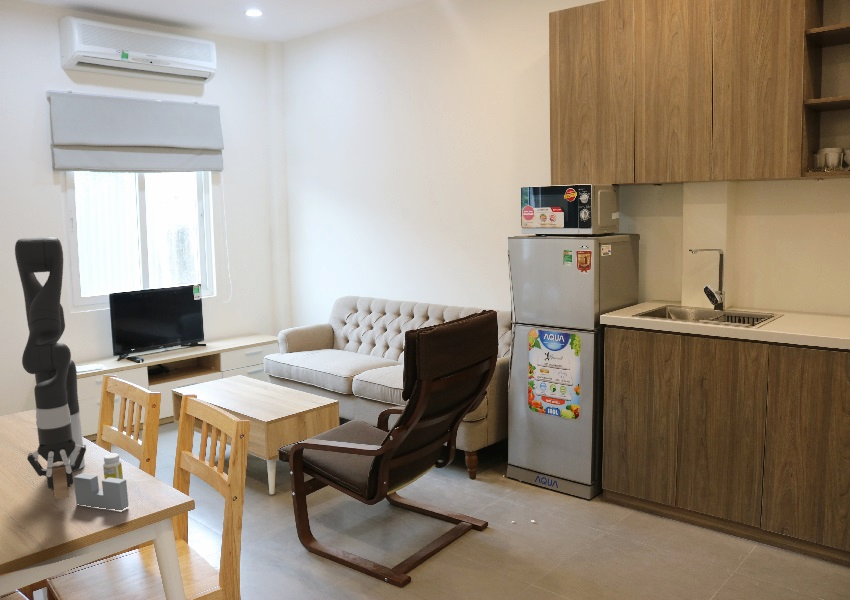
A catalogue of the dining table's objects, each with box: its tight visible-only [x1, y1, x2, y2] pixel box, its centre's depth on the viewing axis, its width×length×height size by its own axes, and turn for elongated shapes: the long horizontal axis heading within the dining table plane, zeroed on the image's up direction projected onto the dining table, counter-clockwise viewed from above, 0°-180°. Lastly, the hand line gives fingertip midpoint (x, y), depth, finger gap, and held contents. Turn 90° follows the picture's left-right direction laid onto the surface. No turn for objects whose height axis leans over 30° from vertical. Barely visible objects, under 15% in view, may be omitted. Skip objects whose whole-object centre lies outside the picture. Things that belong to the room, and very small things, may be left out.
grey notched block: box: [73, 473, 129, 510], centre depth 190 cm, size 15×2×8 cm, turn 71°
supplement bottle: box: [102, 452, 124, 480], centre depth 205 cm, size 5×5×8 cm
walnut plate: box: [52, 462, 70, 500], centre depth 187 cm, size 16×3×8 cm, turn 26°
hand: (61, 487), depth 182 cm, fingers closed on walnut plate, 3 cm apart
